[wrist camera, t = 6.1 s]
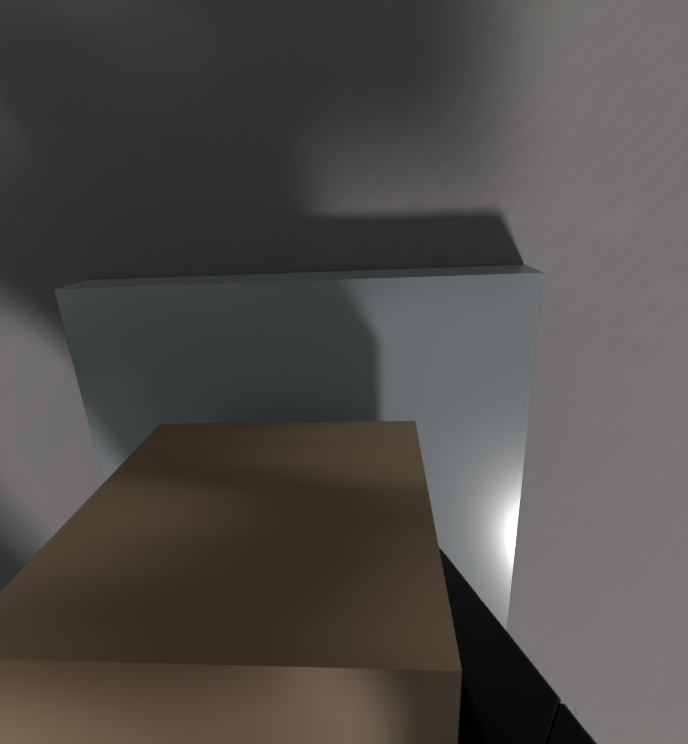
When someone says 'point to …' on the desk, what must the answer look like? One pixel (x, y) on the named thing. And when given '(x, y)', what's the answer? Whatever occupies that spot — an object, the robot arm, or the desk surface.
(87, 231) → the desk surface
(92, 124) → the desk surface
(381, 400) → the coaster
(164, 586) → the cube
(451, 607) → the robot arm
